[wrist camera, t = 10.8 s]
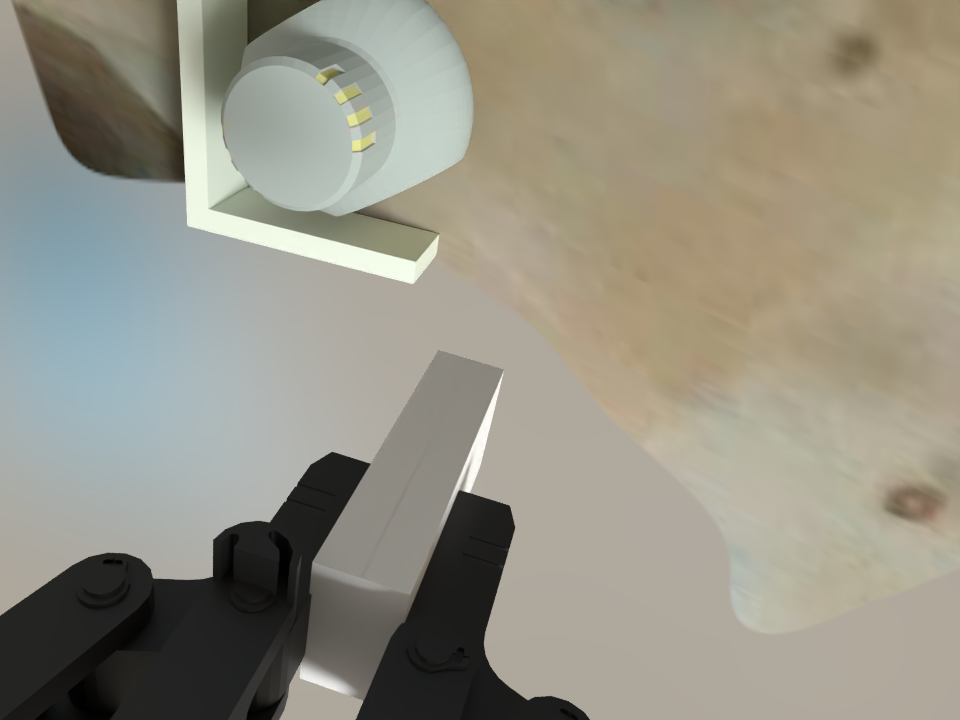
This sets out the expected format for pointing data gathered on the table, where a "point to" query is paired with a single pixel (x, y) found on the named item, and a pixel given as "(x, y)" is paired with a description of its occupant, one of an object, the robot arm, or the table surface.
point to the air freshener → (348, 105)
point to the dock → (222, 189)
